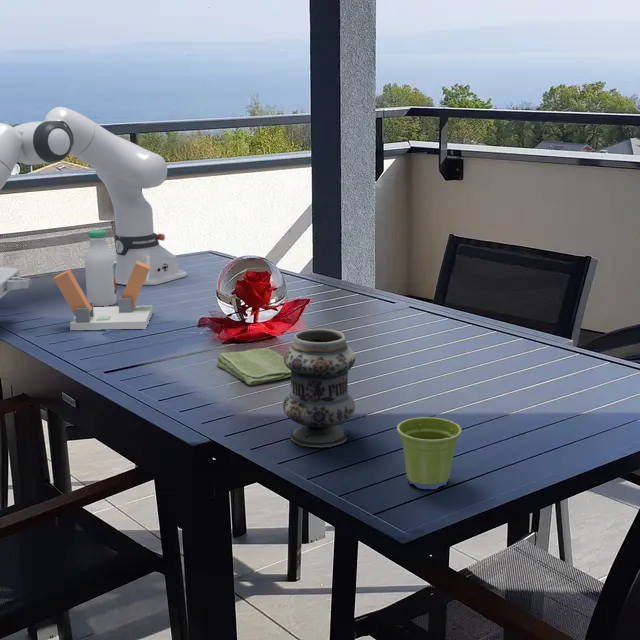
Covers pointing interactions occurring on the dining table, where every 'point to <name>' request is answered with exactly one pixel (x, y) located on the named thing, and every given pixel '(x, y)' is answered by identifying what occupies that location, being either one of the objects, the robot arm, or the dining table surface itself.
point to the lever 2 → (136, 281)
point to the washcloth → (254, 365)
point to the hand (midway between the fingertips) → (29, 283)
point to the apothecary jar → (319, 386)
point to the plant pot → (428, 448)
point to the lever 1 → (72, 291)
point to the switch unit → (112, 316)
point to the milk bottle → (100, 271)
